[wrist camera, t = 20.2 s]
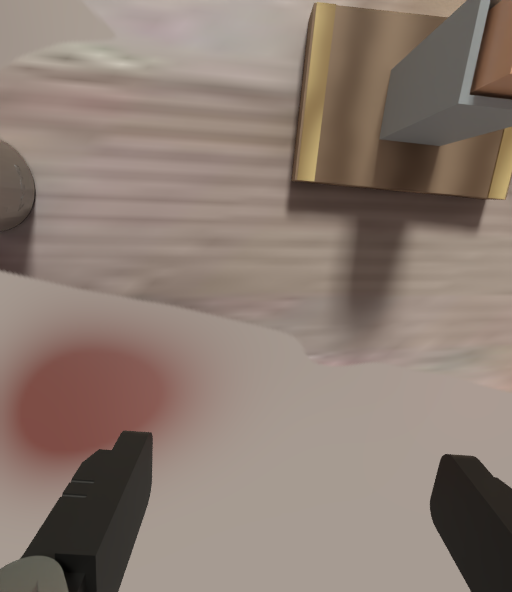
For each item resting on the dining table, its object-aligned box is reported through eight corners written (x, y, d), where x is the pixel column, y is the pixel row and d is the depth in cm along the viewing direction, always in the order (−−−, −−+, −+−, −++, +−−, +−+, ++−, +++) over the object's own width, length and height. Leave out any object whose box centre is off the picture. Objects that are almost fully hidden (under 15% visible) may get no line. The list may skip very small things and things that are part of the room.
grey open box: (379, 139, 33) (458, 103, 21) (391, 69, 32) (484, -16, 19) (439, 146, 33) (555, 114, 21) (454, 77, 32) (588, -3, 19)
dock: (291, 181, 37) (294, 179, 34) (308, 19, 33) (314, 2, 30) (486, 199, 38) (506, 199, 35) (523, 43, 34) (550, 27, 31)
